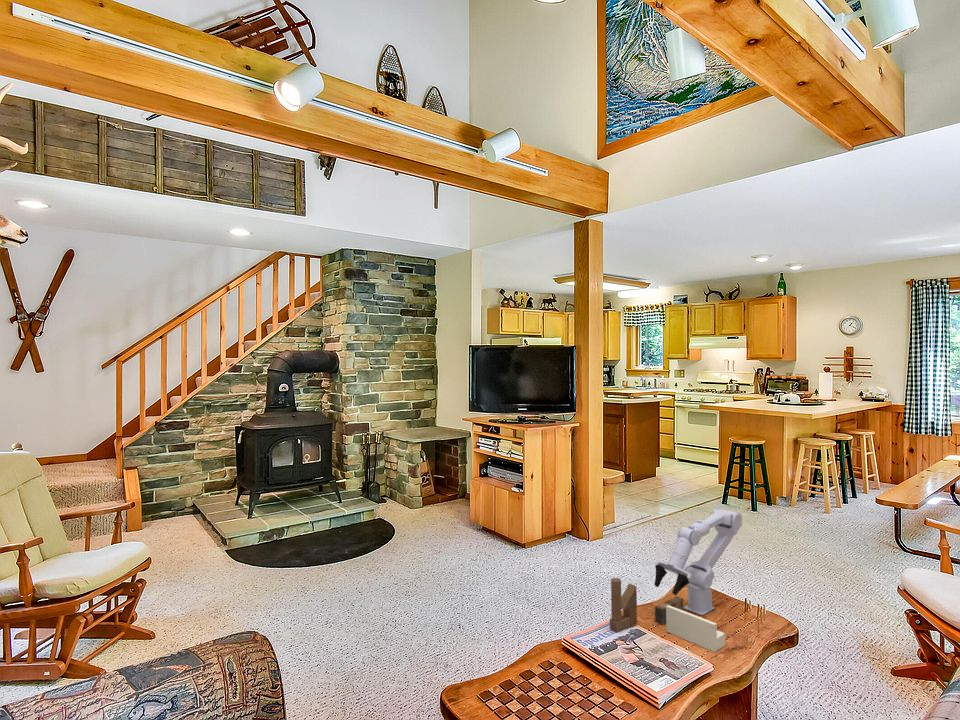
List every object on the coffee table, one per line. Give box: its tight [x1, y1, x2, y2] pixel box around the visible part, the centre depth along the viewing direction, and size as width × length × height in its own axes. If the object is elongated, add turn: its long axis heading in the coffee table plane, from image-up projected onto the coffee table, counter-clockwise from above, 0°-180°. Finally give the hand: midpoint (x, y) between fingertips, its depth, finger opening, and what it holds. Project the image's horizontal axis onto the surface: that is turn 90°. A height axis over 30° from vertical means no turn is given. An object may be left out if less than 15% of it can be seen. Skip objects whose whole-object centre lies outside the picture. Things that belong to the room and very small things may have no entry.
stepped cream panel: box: [665, 605, 726, 653], centre depth 185 cm, size 7×18×9 cm, turn 38°
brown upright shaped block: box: [609, 577, 638, 633], centre depth 194 cm, size 4×11×18 cm, turn 122°
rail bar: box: [654, 595, 684, 626], centre depth 200 cm, size 14×3×6 cm, turn 128°
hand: (664, 590), depth 197 cm, fingers open, 7 cm apart
